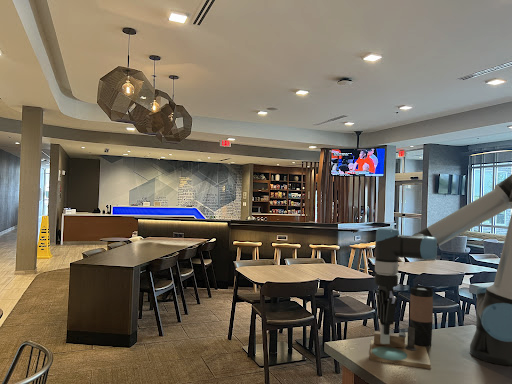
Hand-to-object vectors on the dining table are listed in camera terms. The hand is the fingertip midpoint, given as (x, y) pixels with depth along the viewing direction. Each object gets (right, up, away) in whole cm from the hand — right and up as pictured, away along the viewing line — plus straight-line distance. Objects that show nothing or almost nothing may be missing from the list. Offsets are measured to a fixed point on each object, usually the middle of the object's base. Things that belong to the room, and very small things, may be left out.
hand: (384, 343), depth 135 cm
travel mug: (+16, -4, +9) cm, 19 cm away
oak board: (+4, -3, -3) cm, 5 cm away
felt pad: (0, -2, -5) cm, 5 cm away
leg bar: (+2, -1, +2) cm, 3 cm away
